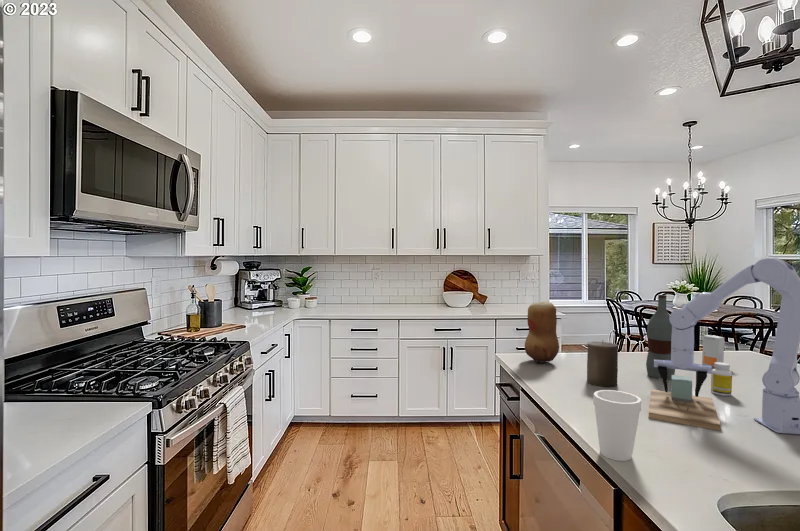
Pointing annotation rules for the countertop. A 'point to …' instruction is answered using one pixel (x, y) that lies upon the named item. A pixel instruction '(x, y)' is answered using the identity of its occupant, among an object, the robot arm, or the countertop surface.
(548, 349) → the butternut squash
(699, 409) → the oak board
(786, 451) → the countertop surface
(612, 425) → the foam cup
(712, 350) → the skincare box
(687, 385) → the block
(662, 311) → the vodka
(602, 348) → the pillar candle
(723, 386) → the supplement bottle
